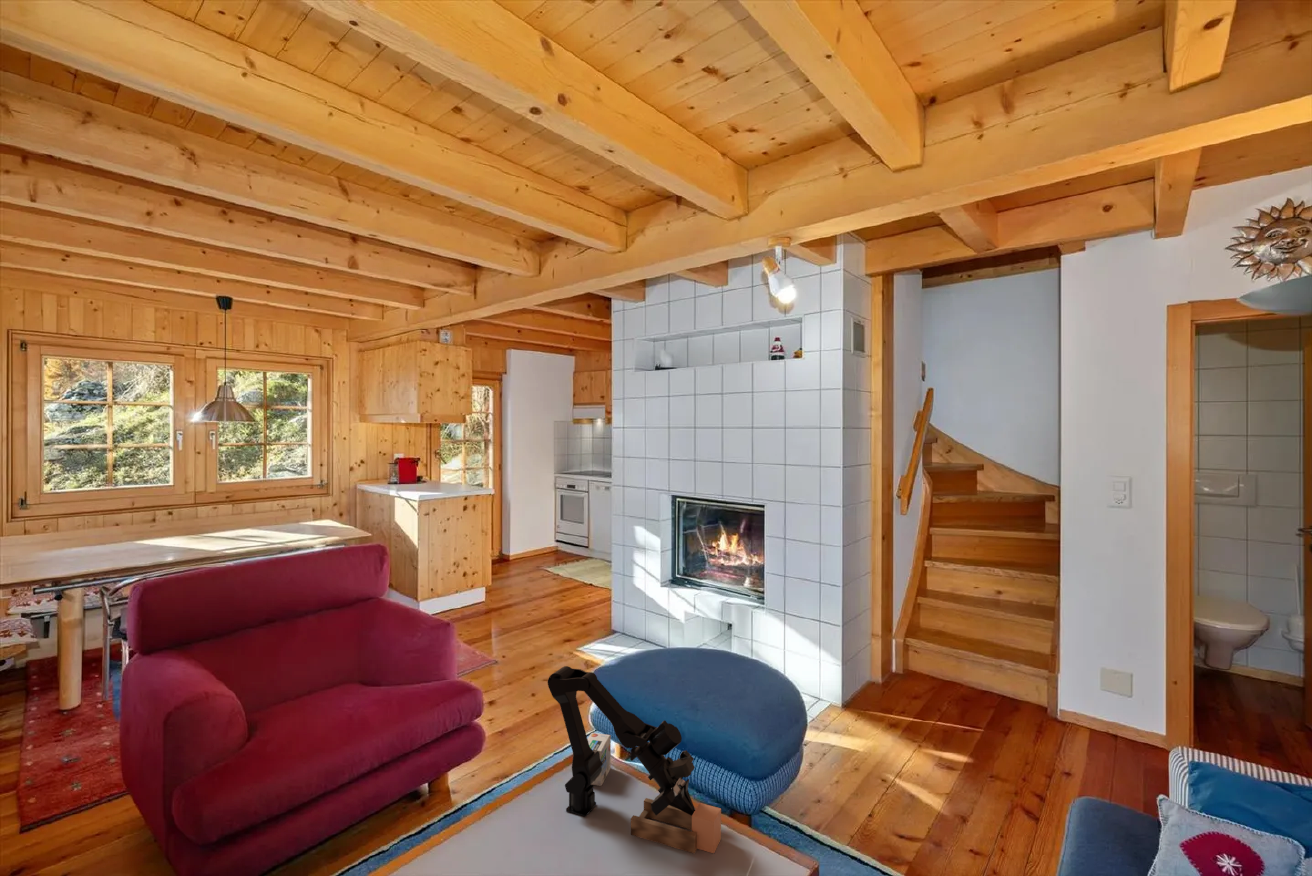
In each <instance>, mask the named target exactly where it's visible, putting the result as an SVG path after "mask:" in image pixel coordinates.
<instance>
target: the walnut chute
mask: <svg viewBox="0 0 1312 876" xmlns="http://www.w3.org/2000/svg"><path fill="white" fill-rule="evenodd" d="M653 801H654V799H651V798H647V797H645V798H644V800H643V810H642V812H641V813H640V814H639V816H637V815H635V814H634V815H632V816H631V818H630V836H634V837H637V838H641V839H644V840H647V841H651V842H655V843H657V844H660V845H664V846H668V847H672V848H675V849H679V850H680V851H681V850H682V851H685V852H688V853H691V854H694V855H695V854H696V852H697V850H698V849H697V833H695V832H692V816H691V815H689V814H687V813H685V812H683V811H681V810H679V809H677V808H675V807H672V806H670V805H669V806H667V807H666V808H665V809H664V810H663V811H661V812H660V813H659V814H658V815H655V814H654V813H653V811H652V810H651V803H652V802H653Z"/></svg>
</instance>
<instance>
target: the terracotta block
mask: <svg viewBox="0 0 1312 876" xmlns="http://www.w3.org/2000/svg"><path fill="white" fill-rule="evenodd" d="M691 831H692V832H695V833H697V850H700V851H705V852H708V853H711V854H715V852H716V850H717V849H718V846H719V844H720V841H721V840H722V808H720V807H717V806H712V805H709V804H705V803H702V802H699V803H698V804H697V806H696V808H695V811H694V813H693V815H692V830H691Z"/></svg>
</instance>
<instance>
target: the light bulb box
mask: <svg viewBox="0 0 1312 876" xmlns="http://www.w3.org/2000/svg"><path fill="white" fill-rule="evenodd" d="M611 737H612V735H611V734H606V733H605V734H604V733H597V732H590V734H589V736H587V739H588V743H589V746H590V748H591V749H592V750H593V751H594V752H596V751H598V752H599V754H600V759H601V762H602V763H603V765H602V771H601V773H600V775H599V776H598V777H597V778H596V780H595V781H594V782H593V783H592V784H591V785H593V786H598V787H602V786H603V784H604V782H605V780H606V778H607V776H608V774H609V772H610V771H611V766H612V764H611V760H612V759H611V758H612V757H611V756H612V755H611V746H612V745H611V744H612V743H611V742H612V741H611V739H612V738H611Z"/></svg>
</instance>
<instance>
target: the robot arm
mask: <svg viewBox="0 0 1312 876" xmlns="http://www.w3.org/2000/svg"><path fill="white" fill-rule="evenodd" d="M547 687H548V689H549V691H550V694H551V697H552V698H553V699H554V700H555V701H556V702H557V703H558V704H559V706H560V711H561V714H562V718H563V722H564V725H565V729H566V733H567V737H568V740H569V744H570V747H571V751H572V762H571V773H572V777H571V778H569V780H568V781H567V782H566V783H564V784H565V785H564V787H565V791H566V793H568V806H567V807H566V808H565V811H566V812H567V813H571V814H575V815H578V816H582V817H587V815H588V814H589V813H590V812H591V811H592V810H593V809H594V807H595V806H596V805H597V802H596V795H595V791H594V785H591V784H592V783H593V782H594V781H595V780H596V778H597V777H598V776H599V775H600V773H601V771H602V765H603V763H602V762H601V759H600V754H599V752H598V751H596V752H594V751H593V750H592V749H591V748H590V746H589V743H588V736H587V732H586V729H585V728H586V727H585V725H584V722H583V719H582V713H581V711H580V707H579V704H578V700H577V692H584V693H585V694H586V695H587V697H588V698H589V699H590V700H591V701H592V702H593V704H594V705H595V706H596V707H597V708H598V709H599V710H600V712H601V713H602V714H603V715H604V716H605V717H606V719H607V720H608V721H609V722H610V723H611V725H612V727H613V731H614V734H615V736H616V738H617V739H618V741H619V743H621V745H622V746H623V747H624V748H625V749H630V756H629V761H632V762H633V761H634V760H635V759H636V758H637V759H638V761H639V762H640V764H642V766H643V767H644V768H645V769H646V771H647V772H648V774H649V775H648V777H647V778H648V779H649V780H650V781H651V780H652V779H653V780H654V781H655V783H656V785H658V787H659V789H658V790H657V791H658V793H659V794H658V795H657V796H655V798H654V799H653V800H654V801H653V802H652V803H651V810H652V811H653V813H654V814H655V815H658V814H659V813H660V812H661V811H663V810H664V809H665V808H666V807H667V806H669V805H670V806H672V807H675V808H677V809H679V810H681V811H683V812H685V813H687V814H689V815H691V816H692V815H693V813H694V811H695V810H696V808H695V805H694V804H693V801H692V798H691V795H690V792H689V782H690V778H688V777H690V776H691V774H692V773H693V771H694V770H695V765H694V764H693V762H694V760H695V758H694V756H692V755H691V754H690V752H688V750H683V751H681V753H680V754H679V757H678V758H677V759H676V760H673V758H672V757H670V756H667V757H666V755H668V754H669V753H670V752H672V751H673V749H675V748H676V747H677V746H678V745H679V744H680V743H682V740H683V738H682V734H681V732H680V729H679V728H678V727H677V726H675V725H674V724H672V723H668V722H667V720H663V721H662V722H661V723H660V724H659V725H658V726H655V725H652V724H648V723H646V722H644V721H643V720H642V719H641V718H640V717H639V716H637V715H636V714H635V713H633V712H630V711H627V710H626V709H625V708H624V707H623V706H622V705H621V704H620V703H619V702H618V701H617V699H616V698H615V697H614V696H613V695H612V694H611V692H610V691H609V690H608V689H607V688H606V687H605V686H604V685H603V683H602V682H601V681H600V680H599V679H598V676H597V675H596V673H594V672H592V671H585V670H583V669H579V668H572V667H571V666H569V665H564V666H563V667H561V668H559V669H557V670H556V671H554V672H553V673H551V674H550V675H549V677H548V679H547ZM684 778H688V779H686V780H684Z"/></svg>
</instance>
